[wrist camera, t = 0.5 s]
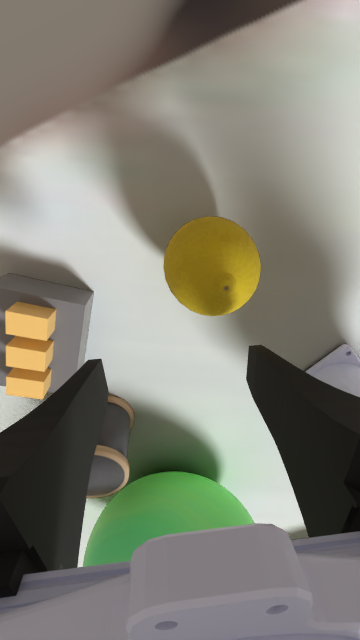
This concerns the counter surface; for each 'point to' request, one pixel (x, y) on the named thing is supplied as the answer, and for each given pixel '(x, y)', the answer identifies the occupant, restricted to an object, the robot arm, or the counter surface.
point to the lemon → (212, 266)
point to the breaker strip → (66, 322)
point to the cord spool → (111, 450)
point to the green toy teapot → (160, 514)
